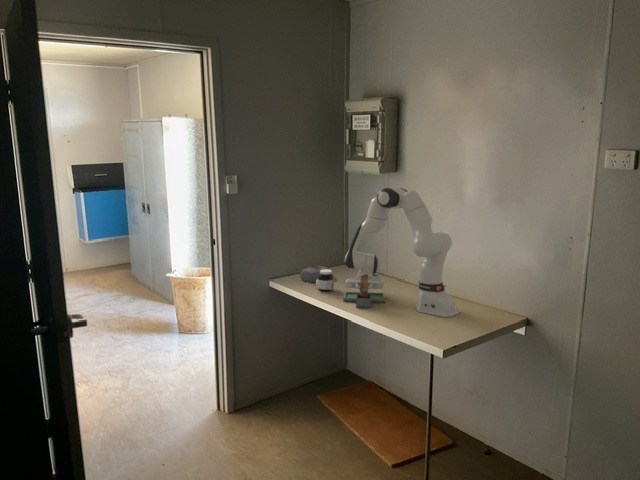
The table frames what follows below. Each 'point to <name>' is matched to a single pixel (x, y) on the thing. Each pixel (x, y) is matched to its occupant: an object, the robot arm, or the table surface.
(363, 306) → the grey square sleeve
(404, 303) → the table surface
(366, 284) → the dowel
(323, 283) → the spread jar
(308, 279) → the soft grey pack
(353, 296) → the tray
